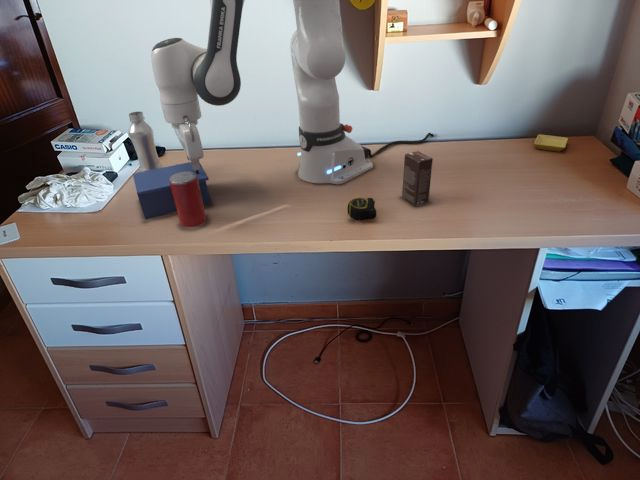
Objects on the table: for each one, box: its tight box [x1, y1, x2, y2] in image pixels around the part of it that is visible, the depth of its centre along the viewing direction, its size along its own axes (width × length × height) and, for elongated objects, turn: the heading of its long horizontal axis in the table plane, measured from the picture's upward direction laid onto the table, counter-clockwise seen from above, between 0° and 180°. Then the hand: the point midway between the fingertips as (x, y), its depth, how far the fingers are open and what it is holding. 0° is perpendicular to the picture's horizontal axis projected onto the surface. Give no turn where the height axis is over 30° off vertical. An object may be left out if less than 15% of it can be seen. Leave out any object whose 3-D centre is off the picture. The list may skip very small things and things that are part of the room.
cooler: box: [137, 180, 211, 220], centre depth 118 cm, size 17×13×7 cm
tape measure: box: [346, 197, 377, 222], centre depth 108 cm, size 7×7×4 cm
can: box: [169, 171, 207, 228], centre depth 107 cm, size 6×6×12 cm
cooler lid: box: [132, 161, 210, 196], centre depth 114 cm, size 17×13×5 cm
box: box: [401, 150, 434, 207], centre depth 111 cm, size 6×4×12 cm
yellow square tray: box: [533, 133, 569, 152], centre depth 138 cm, size 9×9×2 cm
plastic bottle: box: [128, 111, 164, 172], centre depth 128 cm, size 6×7×20 cm
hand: (193, 164), depth 117 cm, fingers closed on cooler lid, 6 cm apart
